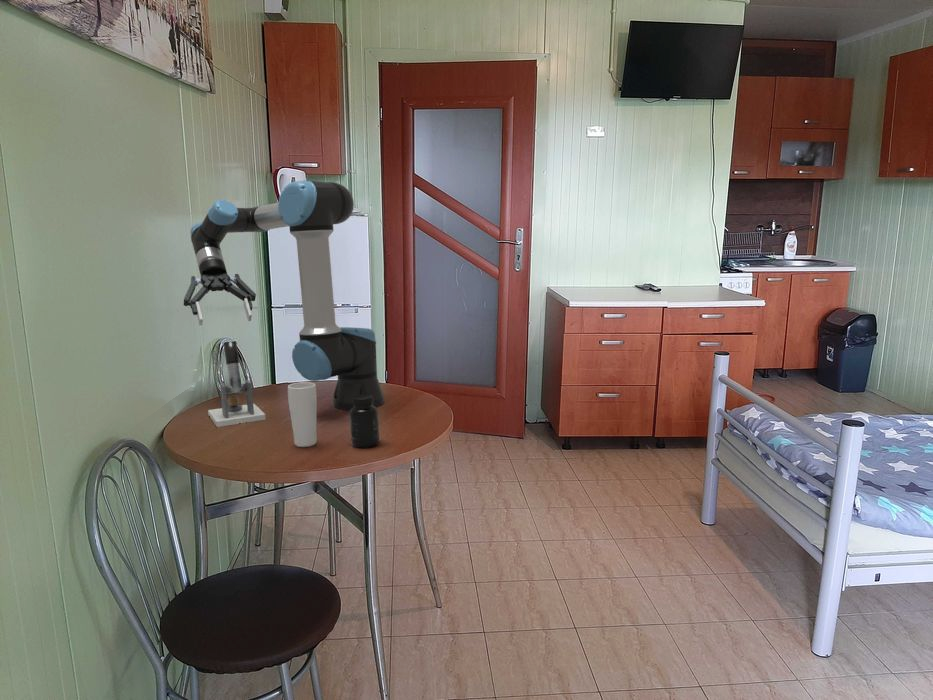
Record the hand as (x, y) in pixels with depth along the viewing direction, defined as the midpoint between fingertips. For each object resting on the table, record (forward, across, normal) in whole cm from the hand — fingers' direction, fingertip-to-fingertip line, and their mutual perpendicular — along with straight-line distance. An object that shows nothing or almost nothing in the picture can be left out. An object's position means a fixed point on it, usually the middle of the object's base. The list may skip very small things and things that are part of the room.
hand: (226, 320), depth 197 cm
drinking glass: (+50, -8, +12) cm, 52 cm away
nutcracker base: (+25, +1, -12) cm, 28 cm away
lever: (+20, +1, -7) cm, 22 cm away
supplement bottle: (+56, -20, +18) cm, 62 cm away
